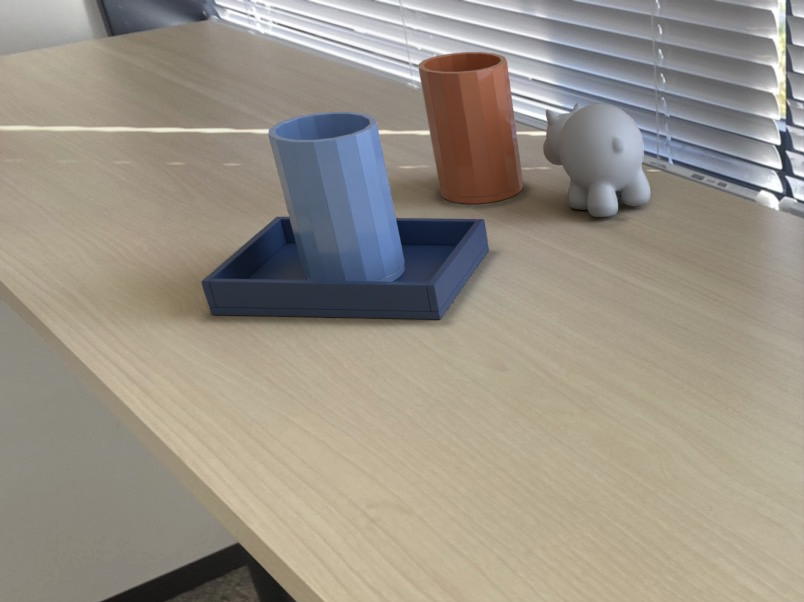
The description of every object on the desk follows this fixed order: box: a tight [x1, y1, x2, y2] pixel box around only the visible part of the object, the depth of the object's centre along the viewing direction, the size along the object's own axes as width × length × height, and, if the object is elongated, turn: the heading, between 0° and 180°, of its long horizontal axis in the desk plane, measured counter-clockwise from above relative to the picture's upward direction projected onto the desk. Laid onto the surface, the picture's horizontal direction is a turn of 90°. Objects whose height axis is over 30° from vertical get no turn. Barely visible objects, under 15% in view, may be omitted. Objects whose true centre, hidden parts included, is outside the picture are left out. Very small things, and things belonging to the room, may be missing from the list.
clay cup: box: [417, 51, 524, 205], centre depth 102 cm, size 7×7×11 cm
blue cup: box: [267, 111, 406, 282], centre depth 85 cm, size 7×7×11 cm
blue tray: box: [200, 216, 490, 320], centre depth 88 cm, size 17×13×3 cm
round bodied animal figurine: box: [542, 102, 651, 218], centre depth 100 cm, size 7×12×8 cm, turn 39°
